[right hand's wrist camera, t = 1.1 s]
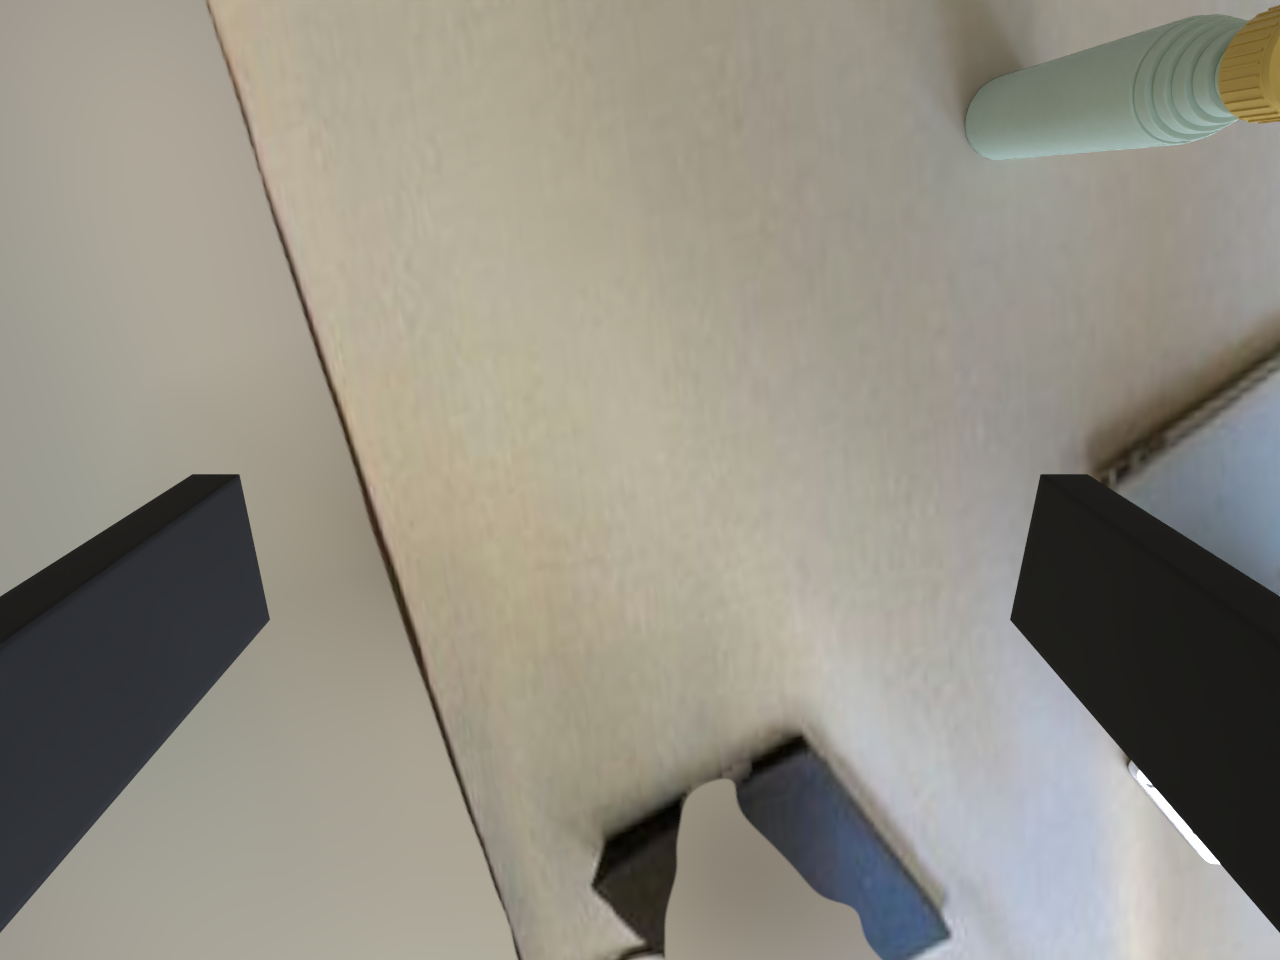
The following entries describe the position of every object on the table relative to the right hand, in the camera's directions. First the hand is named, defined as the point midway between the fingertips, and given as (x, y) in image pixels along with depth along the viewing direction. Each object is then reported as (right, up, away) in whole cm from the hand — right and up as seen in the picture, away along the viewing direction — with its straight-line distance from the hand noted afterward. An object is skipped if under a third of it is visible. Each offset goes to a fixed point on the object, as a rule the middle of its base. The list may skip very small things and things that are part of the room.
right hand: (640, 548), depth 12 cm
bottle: (+23, +24, +34) cm, 48 cm away
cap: (+23, +15, +13) cm, 30 cm away
